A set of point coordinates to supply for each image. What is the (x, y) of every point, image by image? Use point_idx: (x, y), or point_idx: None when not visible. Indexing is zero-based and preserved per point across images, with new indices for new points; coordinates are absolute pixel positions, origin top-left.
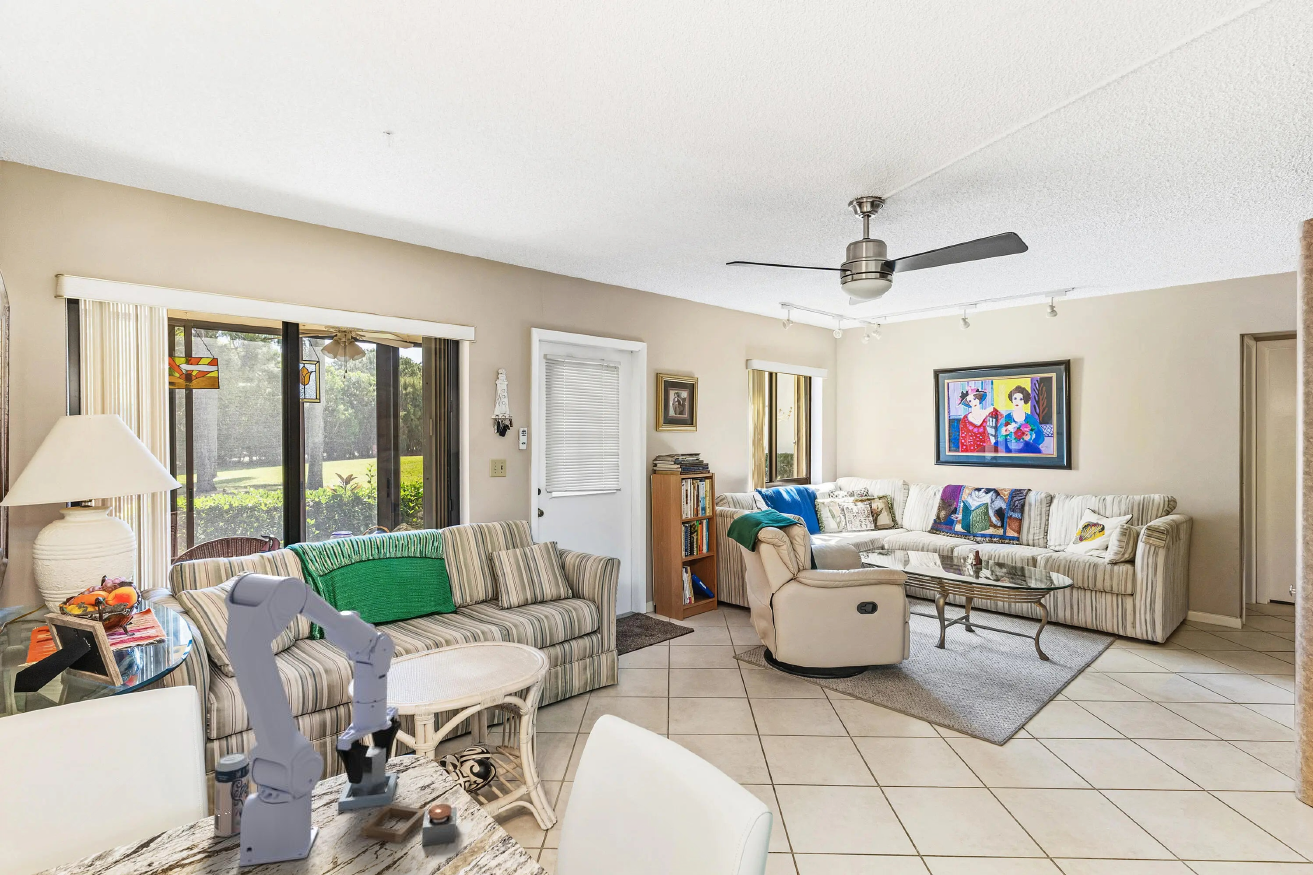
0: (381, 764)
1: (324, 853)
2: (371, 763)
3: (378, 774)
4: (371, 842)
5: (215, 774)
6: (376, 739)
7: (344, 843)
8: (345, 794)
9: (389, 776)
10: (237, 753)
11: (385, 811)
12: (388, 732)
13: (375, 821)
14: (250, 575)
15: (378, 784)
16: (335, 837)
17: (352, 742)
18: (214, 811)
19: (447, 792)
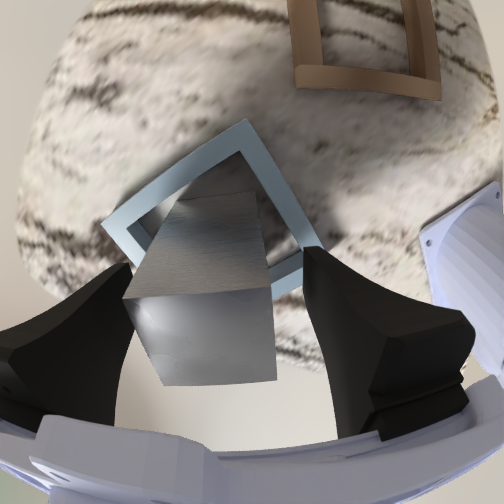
0: (181, 248)
1: (480, 152)
2: (267, 267)
3: (209, 228)
4: None
5: None
6: (110, 378)
7: (451, 127)
8: (289, 278)
9: (128, 231)
10: None
11: (349, 69)
12: (57, 365)
13: (402, 74)
14: None
15: (212, 211)
16: (436, 167)
17: (428, 425)
18: None
19: (111, 5)
